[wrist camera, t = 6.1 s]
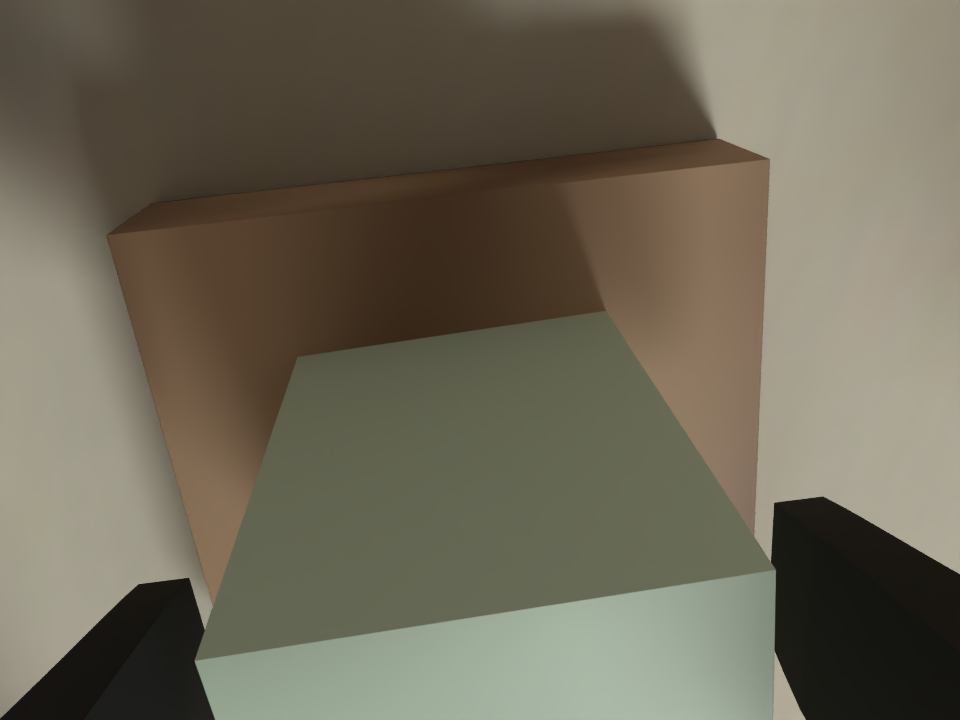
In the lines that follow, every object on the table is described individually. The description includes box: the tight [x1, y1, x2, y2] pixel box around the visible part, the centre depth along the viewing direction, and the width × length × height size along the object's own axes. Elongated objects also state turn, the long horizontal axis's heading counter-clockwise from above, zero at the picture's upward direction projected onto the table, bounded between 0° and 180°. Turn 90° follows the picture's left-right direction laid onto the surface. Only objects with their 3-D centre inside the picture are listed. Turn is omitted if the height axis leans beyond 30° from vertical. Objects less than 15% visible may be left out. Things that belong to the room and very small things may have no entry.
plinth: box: [106, 139, 770, 605], centre depth 14 cm, size 9×9×2 cm
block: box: [195, 311, 776, 720], centre depth 10 cm, size 4×4×6 cm
